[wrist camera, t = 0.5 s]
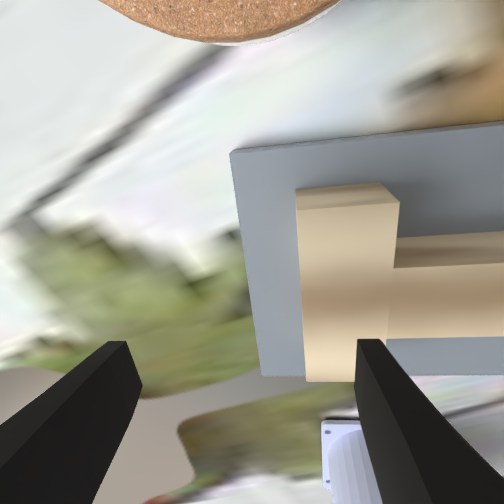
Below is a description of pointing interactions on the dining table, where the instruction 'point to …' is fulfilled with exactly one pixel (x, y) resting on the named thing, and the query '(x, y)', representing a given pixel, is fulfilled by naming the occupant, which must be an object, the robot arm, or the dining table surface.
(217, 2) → the lidded jar
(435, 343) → the board
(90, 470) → the robot arm
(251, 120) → the dining table surface
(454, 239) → the t block
